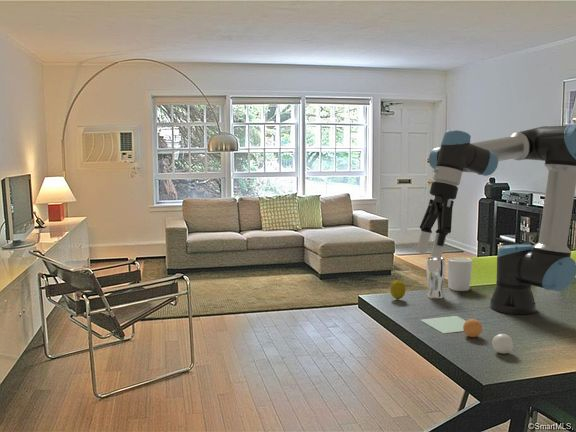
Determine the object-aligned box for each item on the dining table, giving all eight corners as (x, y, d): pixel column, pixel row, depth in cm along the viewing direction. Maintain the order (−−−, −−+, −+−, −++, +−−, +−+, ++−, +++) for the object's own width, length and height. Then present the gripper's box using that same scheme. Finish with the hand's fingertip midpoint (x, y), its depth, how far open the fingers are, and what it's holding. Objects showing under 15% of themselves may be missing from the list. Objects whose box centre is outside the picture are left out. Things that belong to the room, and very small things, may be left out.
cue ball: (504, 348, 161) (504, 330, 160) (517, 355, 155) (518, 336, 155) (487, 350, 159) (488, 332, 158) (500, 357, 154) (501, 338, 153)
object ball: (474, 332, 174) (475, 315, 173) (485, 338, 169) (486, 321, 168) (459, 334, 172) (459, 317, 172) (469, 340, 167) (470, 322, 166)
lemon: (405, 302, 207) (405, 281, 206) (390, 301, 208) (390, 280, 207) (405, 298, 213) (405, 278, 212) (390, 297, 214) (390, 277, 213)
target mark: (456, 316, 191) (456, 315, 191) (481, 329, 177) (481, 328, 177) (419, 320, 187) (419, 319, 187) (443, 333, 173) (443, 333, 173)
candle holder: (442, 285, 232) (443, 257, 230) (465, 285, 233) (466, 256, 231) (451, 291, 222) (452, 262, 221) (475, 291, 223) (476, 261, 221)
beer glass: (434, 300, 211) (435, 261, 209) (421, 295, 217) (423, 257, 215) (448, 297, 214) (449, 259, 212) (435, 293, 220) (436, 256, 218)
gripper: (420, 182, 173) (403, 248, 174) (448, 178, 149) (429, 255, 149) (443, 188, 174) (426, 254, 174) (474, 185, 149) (456, 262, 149)
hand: (427, 255), depth 161 cm, fingers open, 13 cm apart
